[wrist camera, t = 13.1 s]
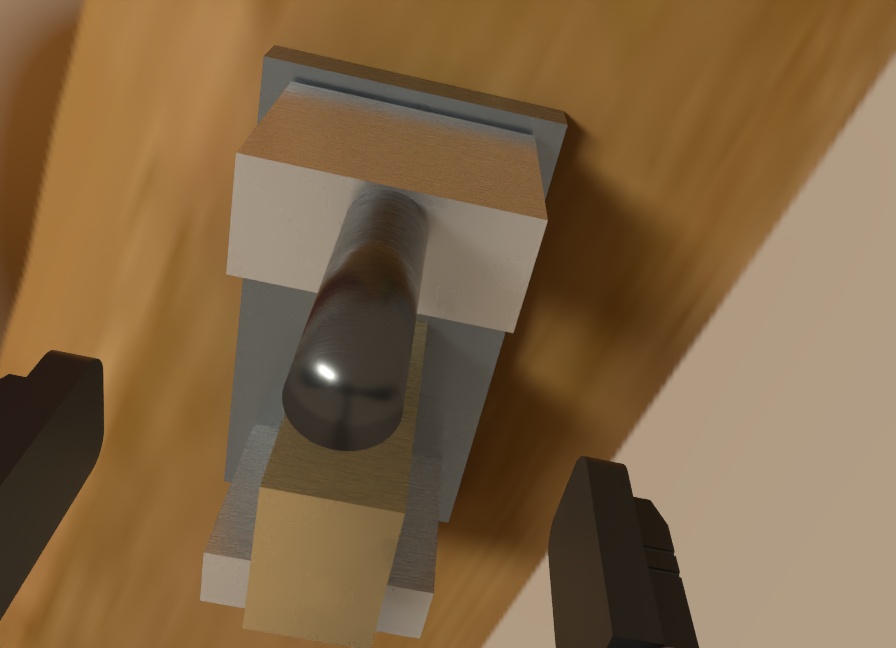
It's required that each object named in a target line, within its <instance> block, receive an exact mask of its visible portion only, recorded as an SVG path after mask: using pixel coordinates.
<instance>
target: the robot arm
mask: <svg viewBox="0 0 896 648" xmlns="http://www.w3.org/2000/svg"><path fill="white" fill-rule="evenodd" d="M103 436H104V395H103V365H102V362H101V361H100V360H99V359H96V358H91V357H86V356H81V355H76V354H71V353H66V352H61V351H56V350H51V351H49V352H47V353H46V354H45V355H44V357H43V358H42V359H41V360H40V361H39V363H38V364H37V365H36V366H35V367H34V369H33V370H32V371H31V372H30V373H29V375H28V376H27V377H22V376H17V375H12V374H8V375H6V376H5V377H3V378H1V379H0V620H1V618H2V617H3V615H4V614H5V612H6V610H7V609H8V607H9V605H10V604H11V602H12V600H13V599H14V597H15V596H16V594H17V592H18V591H19V589H20V587H21V586H22V584H23V583H24V581H25V579H26V578H27V576H28V574H29V573H30V571H31V569H32V568H33V566H34V565H35V563H36V561H37V560H38V558H39V556H40V555H41V553H42V551H43V550H44V548H45V547H46V545H47V543H48V542H49V540H50V538H51V537H52V535H53V533H54V532H55V530H56V529H57V527H58V525H59V524H60V522H61V520H62V519H63V517H64V516H65V514H66V512H67V511H68V509H69V507H70V506H71V504H72V502H73V501H74V499H75V498H76V496H77V494H78V493H79V491H80V489H81V488H82V486H83V484H84V483H85V481H86V480H87V478H88V476H89V475H90V473H91V471H92V470H93V468H94V466H95V464H96V462H97V459H98V457H99V454H100V450H101V447H102V442H103ZM548 556H549V568H550V581H551V594H552V604H553V605H552V606H553V618H554V631H555V643H556V648H699V646H698V642H697V638H696V634H695V630H694V626H693V622H692V618H691V614H690V610H689V606H688V602H687V598H686V595H685V590H684V587H683V583H682V579H681V578H680V577H679V573H680V571H679V567H678V563H677V559H676V556H674V547H673V543H672V539H671V535H670V531H669V528H668V525H667V523H666V522H665V520H664V519H663V517H662V516H661V515H660V513H659V512H658V510H657V509H656V508H655V506H654V505H653V503H652V502H651V501H650V500H647V499H642V498H637V497H633V494H632V489H631V484H630V480H629V475H628V471H627V468H626V466H625V465H624V464H620V463H616V462H611V461H606V460H601V459H596V458H590V457H585V456H581V457H580V458H579V459H578V460H577V462H576V464H575V467H574V469H573V472H572V474H571V477H570V479H569V482H568V484H567V487H566V489H565V492H564V494H563V497H562V499H561V502H560V504H559V507H558V509H557V512H556V514H555V517H554V519H553V523H552V527H551V531H550V537H549V548H548Z"/></svg>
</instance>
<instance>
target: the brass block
mask: <svg viewBox="0 0 896 648" xmlns="http://www.w3.org/2000/svg"><path fill="white" fill-rule="evenodd" d="M427 324H428V323H423V322H418V321H416V324H415V331H414V338H413V345H412V352H411V359H410V366H409V373H408V380H407V387H406V394H405V402H404V409H403V415H402V419H401V422H400V424H399V426H398V428H397V429H396V430H395V432H394V433H393V434H392V435H391V436H390V437H389V438H388V439H386V440H385V441H384V442H382V443H380V444H379V445H376V446H374V447H372V448H368V449H365V450H359V451H338V450H332V449H328V448H325V447H322V446H319V445H317V444H315V443H313V442H311V441H310V440H308V439H306V438H305V437H304V436H302V435H301V434H300V433H299V432H298V431H297V430H296V429H295V428H294V427H293V426H292V425H291V423H290V422H289V420H288V418H287V416H286V414H285V415H284V417H283V420H282V423H281V426H280V429H279V432H278V435H277V438H276V441H275V444H274V447H273V449H272V452H271V455H270V458H269V461H268V464H267V467H266V470H265V473H264V476H263V479H262V481H261V484H260V488H259V496H258V505H257V513H256V521H255V530H254V538H253V546H252V555H251V563H250V571H249V580H248V588H247V596H246V605H245V613H244V621H243V629H249V630H255V631H261V632H267V633H272V634H278V635H284V636H290V637H296V638H302V639H308V640H314V641H320V642H325V643H331V644H337V645H343V646H349V647H355V648H371V646H372V642H373V638H374V634H375V630H376V626H377V622H378V619H379V615H380V611H381V607H382V603H383V599H384V595H385V591H386V587H387V583H388V579H389V575H390V571H391V567H392V563H393V559H394V555H395V551H396V548H397V544H398V540H399V536H400V532H401V528H402V524H403V520H404V516H405V510H406V502H407V493H408V485H409V476H410V468H411V459H412V451H413V443H414V434H415V426H416V417H417V409H418V400H419V392H420V383H421V375H422V366H423V358H424V349H425V341H426V332H427Z"/></svg>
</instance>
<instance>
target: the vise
mask: <svg viewBox="0 0 896 648" xmlns="http://www.w3.org/2000/svg"><path fill="white" fill-rule="evenodd" d="M291 81H293V82H297V83H302V84H306V85H311V86H315V87H320V88H324V89H328V90H333V91H337V92H342V93H346V94H351V95H355V96H360V97H364V98H368V99H373V100H377V101H382V102H386V103H391V104H395V105H400V106H404V107H408V108H413V109H417V110H422V111H426V112H431V113H435V114H440V115H444V116H448V117H453V118H457V119H462V120H466V121H471V122H475V123H480V124H484V125H488V126H493V127H497V128H502V129H506V130H511V131H515V132H519V133H524V134H528V135H533V136H535V142H536V148H537V155H538V161H539V167H540V174H541V180H542V186H543V193H544V199H546V196H547V192H548V189H549V186H550V182H551V179H552V176H553V172H554V169H555V166H556V162H557V159H558V156H559V152H560V149H561V146H562V142H563V139H564V136H565V132H566V129H567V126H568V124H567V121H566V117H565V113H564V111H560V110H555V109H551V108H547V107H542V106H538V105H533V104H529V103H525V102H520V101H516V100H512V99H507V98H503V97H498V96H494V95H490V94H485V93H481V92H476V91H472V90H468V89H463V88H459V87H455V86H450V85H446V84H441V83H437V82H433V81H428V80H424V79H420V78H415V77H411V76H406V75H402V74H398V73H393V72H389V71H384V70H380V69H376V68H371V67H367V66H363V65H358V64H354V63H349V62H345V61H341V60H336V59H332V58H327V57H323V56H319V55H314V54H310V53H306V52H301V51H297V50H292V49H288V48H284V47H279V46H275V45H274V46H273V47H272V48H271V49H270V50H269V51H268V52H267V53H266V54H265V55H264V60H263V70H262V81H261V92H260V103H259V113H258V124H259V122H260V121H261V120H262V119H263V117H264V116H265V115H266V113H267V112H268V111H269V109H270V108H271V107H272V106H273V104H274V103H275V102H276V100H277V99H278V98H279V97H280V95H281V94H282V93H283V91H284V90H285V89H286V87H287V86H288V85H289V84H290V82H291ZM258 124H257V125H258ZM316 296H317V293H315V292H310V291H305V290H301V289H296V288H291V287H286V286H281V285H276V284H271V283H266V282H262V281H257V280H252V279H247V278H243V285H242V296H241V307H240V317H239V328H238V339H237V350H236V360H235V371H234V382H233V393H232V403H231V414H230V425H229V435H228V446H227V457H226V468H225V478H224V481H227V482H231V484H230V487H229V490H228V492H227V495H226V497H225V500H224V502H223V505H222V507H221V510H220V513H219V515H218V518H217V520H216V523H215V525H214V528H213V531H212V533H211V536H210V538H209V541H208V543H207V546H206V549H205V551H204V558H203V571H202V583H201V595H200V601H206V602H212V603H217V604H223V605H229V606H235V607H240V608H245V605H246V596H247V588H248V580H249V571H250V563H251V555H252V546H253V538H254V530H255V521H256V513H257V505H258V496H259V488H260V484H261V481H262V479H263V476H264V473H265V470H266V467H267V464H268V461H269V458H270V455H271V452H272V449H273V447H274V444H275V441H276V438H277V435H278V432H279V429H280V426H281V423H282V420H283V417H284V415H285V412H284V408H283V404H282V391H283V387H284V384H285V381H286V378H287V376H288V373H289V370H290V367H291V365H292V362H293V359H294V356H295V354H296V351H297V348H298V345H299V343H300V340H301V337H302V334H303V332H304V329H305V326H306V323H307V321H308V318H309V315H310V312H311V310H312V307H313V304H314V301H315V299H316ZM416 321H418V322H423V323H428V324H427V332H426V341H425V349H424V358H423V366H422V375H421V383H420V392H419V400H418V409H417V417H416V426H415V434H414V443H413V451H412V459H411V468H410V476H409V485H408V493H407V502H406V510H405V516H404V520H403V524H402V528H401V532H400V536H399V540H398V544H397V548H396V551H395V555H394V559H393V563H392V567H391V571H390V575H389V579H388V583H387V587H386V591H385V595H384V599H383V603H382V607H381V611H380V615H379V619H378V622H377V626H376V630H375V631H378V632H384V633H390V634H395V635H401V636H407V637H413V638H418V639H420V637H421V633H422V630H423V627H424V624H425V620H426V617H427V614H428V610H429V607H430V604H431V601H432V597H433V594H434V582H435V567H436V552H437V538H438V523H439V521H442V522H447V523H449V519H450V516H451V513H452V509H453V506H454V503H455V499H456V496H457V493H458V489H459V486H460V483H461V479H462V476H463V473H464V469H465V466H466V463H467V459H468V456H469V453H470V449H471V446H472V443H473V439H474V436H475V433H476V429H477V426H478V423H479V419H480V416H481V413H482V409H483V406H484V403H485V399H486V396H487V393H488V389H489V386H490V383H491V379H492V376H493V373H494V369H495V366H496V363H497V359H498V356H499V353H500V349H501V346H502V342H503V339H504V336H505V331H500V330H495V329H490V328H486V327H481V326H476V325H471V324H466V323H461V322H456V321H452V320H447V319H442V318H437V317H432V316H427V315H422V314H417V317H416Z"/></svg>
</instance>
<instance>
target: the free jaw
mask: <svg viewBox="0 0 896 648" xmlns="http://www.w3.org/2000/svg"><path fill="white" fill-rule="evenodd" d="M547 222H548V218H547V211H546V205H545V199H544V193H543V186H542V180H541V174H540V167H539V161H538V155H537V148H536V142H535V136H533V135H528V134H524V133H519V132H515V131H511V130H506V129H502V128H497V127H493V126H488V125H484V124H480V123H475V122H471V121H466V120H462V119H457V118H453V117H448V116H444V115H440V114H435V113H431V112H426V111H422V110H417V109H413V108H408V107H404V106H400V105H395V104H391V103H386V102H382V101H377V100H373V99H368V98H364V97H360V96H355V95H351V94H346V93H342V92H337V91H333V90H328V89H324V88H320V87H315V86H311V85H306V84H302V83H297V82H293V81H291V82H290V84H289V85H288V86H287V87H286V89H285V90H284V91H283V93H282V94H281V95H280V97H279V98H278V99H277V100H276V102H275V103H274V104H273V106H272V107H271V108H270V109H269V111H268V112H267V113H266V115H265V116H264V117H263V119H262V120H261V121H260V122H259V124H258V125H257V126H256V128H255V129H254V130H253V132H252V133H251V134H250V135H249V137H248V138H247V139H246V141H245V142H244V143H243V144H242V146H241V147H240V148H239V150H238V151H237V152H236V160H235V173H234V185H233V198H232V210H231V223H230V235H229V247H228V260H227V272H226V274H228V275H232V276H237V277H242V278H247V279H252V280H257V281H262V282H266V283H271V284H276V285H281V286H286V287H291V288H296V289H301V290H305V291H310V292H315V293H317V296H316V299H315V301H314V304H313V307H312V310H311V312H310V315H309V318H308V321H307V323H306V326H305V329H304V332H303V334H302V337H301V340H300V343H299V345H298V348H297V351H296V354H295V356H294V359H293V362H292V365H291V367H290V370H289V373H288V376H287V378H286V381H285V384H284V387H283V391H282V404H283V408H284V412H285V414H286V416H287V418H288V420H289V422H290V423H291V425H292V426H293V427H294V428H295V429H296V430H297V431H298V432H299V433H300V434H301V435H302V436H304V437H305V438H306V439H308V440H310V441H311V442H313V443H315V444H317V445H319V446H322V447H325V448H328V449H332V450H338V451H359V450H365V449H368V448H372V447H374V446H376V445H379V444H380V443H382V442H384V441H385V440H386V439H388V438H389V437H390V436H391V435H392V434H393V433H394V432H395V430H396V429H397V428H398V426H399V424H400V422H401V419H402V415H403V409H404V402H405V394H406V387H407V380H408V373H409V366H410V359H411V352H412V345H413V338H414V331H415V324H416V317H417V314H422V315H427V316H432V317H437V318H442V319H447V320H452V321H456V322H461V323H466V324H471V325H476V326H481V327H486V328H490V329H495V330H500V331H505V332H510V333H514V330H515V326H516V323H517V320H518V317H519V313H520V310H521V307H522V303H523V300H524V297H525V294H526V290H527V287H528V284H529V281H530V277H531V274H532V271H533V268H534V264H535V261H536V258H537V254H538V251H539V248H540V245H541V241H542V238H543V235H544V232H545V228H546V225H547Z"/></svg>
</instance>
